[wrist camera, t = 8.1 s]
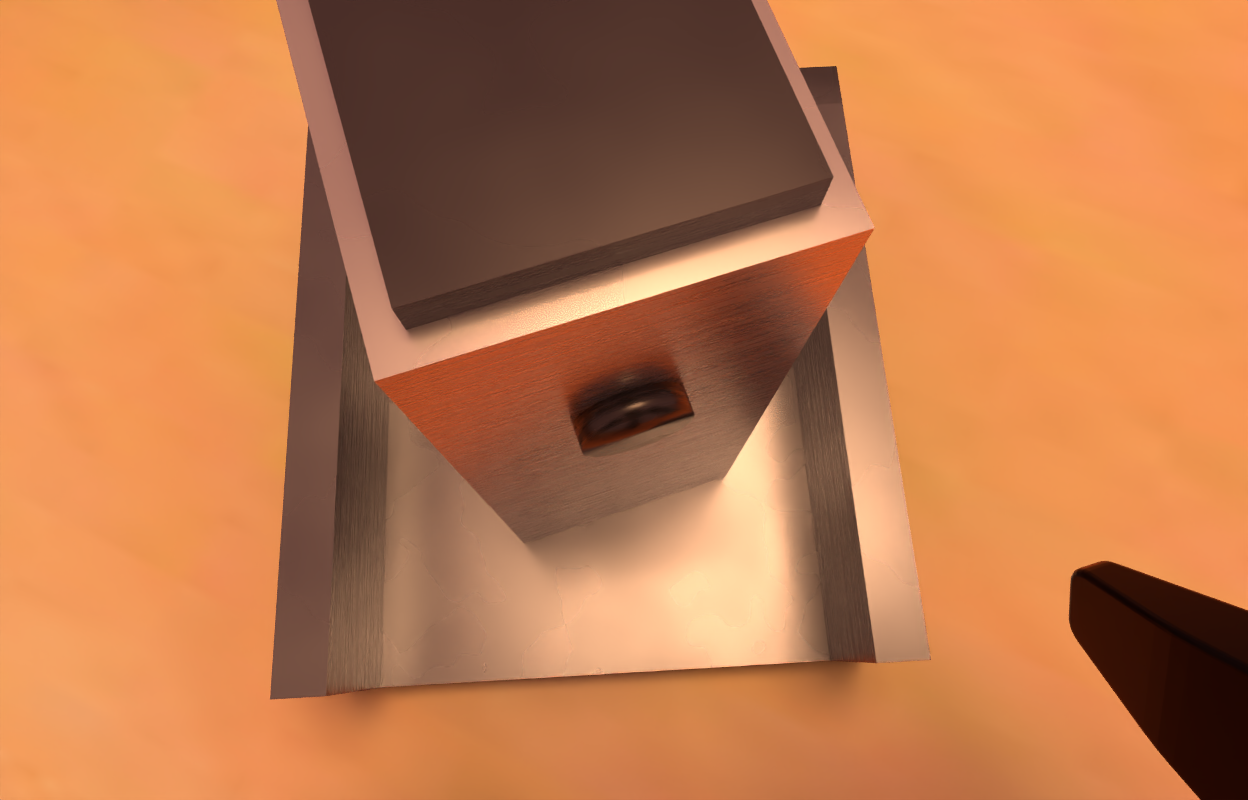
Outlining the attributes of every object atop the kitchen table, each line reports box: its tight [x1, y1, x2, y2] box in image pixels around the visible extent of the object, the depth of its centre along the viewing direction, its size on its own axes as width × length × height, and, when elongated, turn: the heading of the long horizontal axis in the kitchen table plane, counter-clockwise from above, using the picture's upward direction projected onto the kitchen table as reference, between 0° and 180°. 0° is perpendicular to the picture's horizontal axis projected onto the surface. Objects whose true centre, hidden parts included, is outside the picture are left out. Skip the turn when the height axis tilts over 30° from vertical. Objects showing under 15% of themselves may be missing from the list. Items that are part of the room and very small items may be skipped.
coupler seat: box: [270, 66, 931, 699], centre depth 19 cm, size 13×12×4 cm
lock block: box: [276, 0, 875, 543], centre depth 14 cm, size 5×5×12 cm
